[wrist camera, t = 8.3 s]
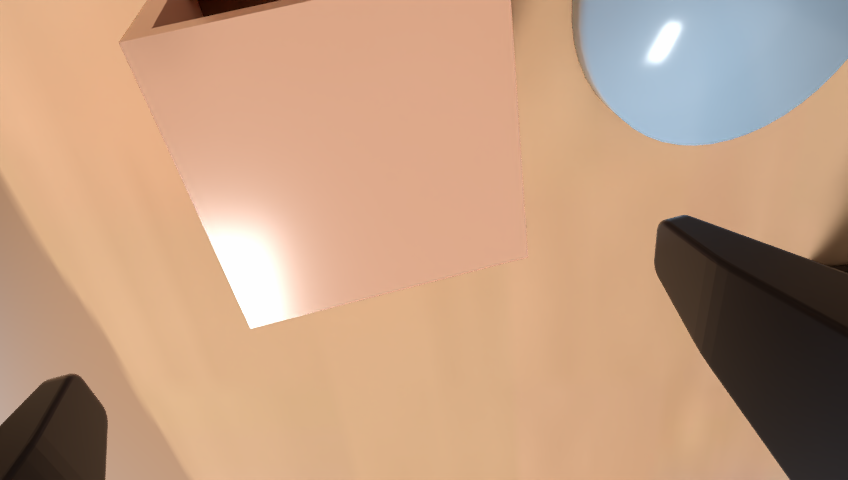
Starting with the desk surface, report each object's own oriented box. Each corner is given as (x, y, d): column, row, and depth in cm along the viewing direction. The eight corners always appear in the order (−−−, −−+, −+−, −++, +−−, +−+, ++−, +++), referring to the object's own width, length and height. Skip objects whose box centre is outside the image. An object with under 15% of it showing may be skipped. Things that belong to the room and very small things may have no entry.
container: (436, -85, 16) (508, -43, 11) (467, 152, 20) (528, 257, 15) (166, -28, 16) (119, 42, 11) (255, 203, 20) (250, 328, 15)
